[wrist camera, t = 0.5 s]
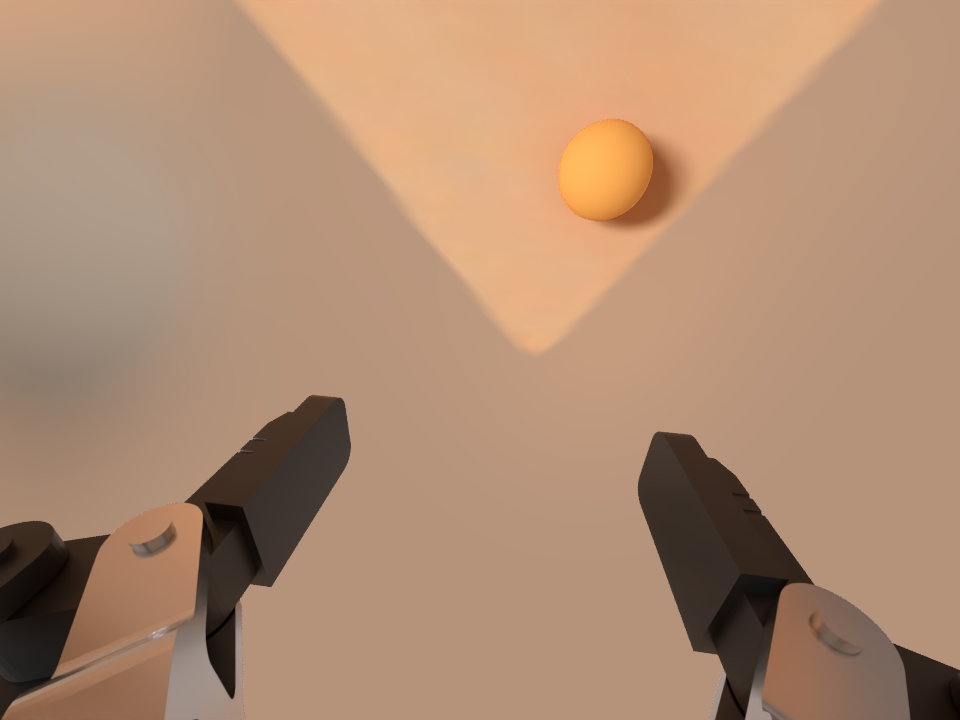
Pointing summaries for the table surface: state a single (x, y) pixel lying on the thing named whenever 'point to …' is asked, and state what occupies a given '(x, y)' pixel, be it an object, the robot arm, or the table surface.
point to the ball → (605, 169)
